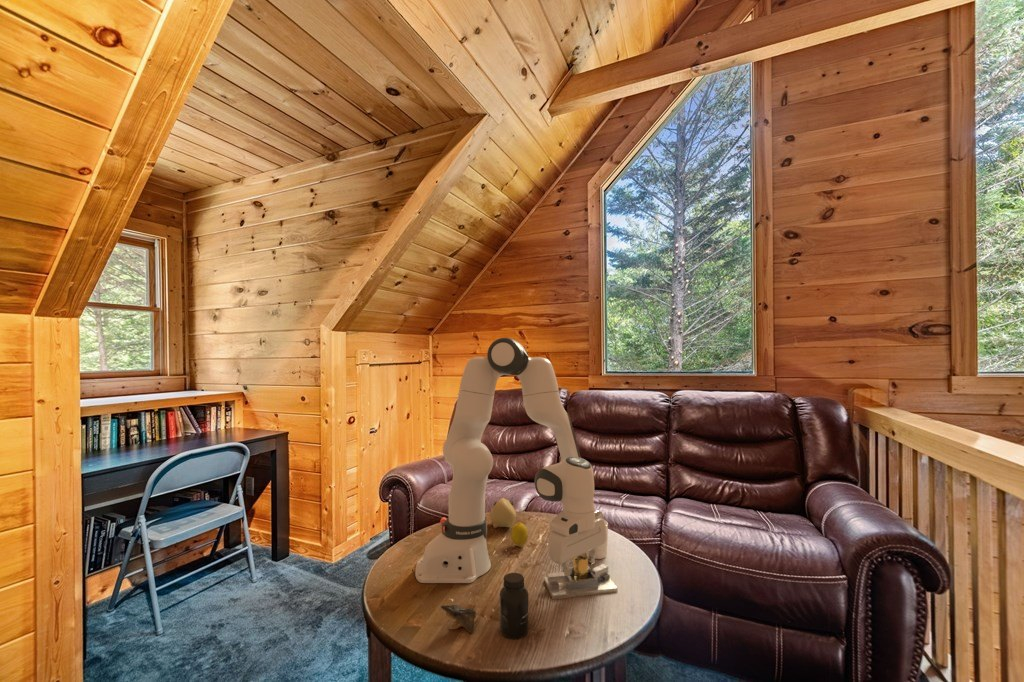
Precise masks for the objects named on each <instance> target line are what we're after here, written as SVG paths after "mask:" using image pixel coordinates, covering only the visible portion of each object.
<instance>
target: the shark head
mask: <svg viewBox="0 0 1024 682" xmlns="http://www.w3.org/2000/svg"><path fill="white" fill-rule="evenodd" d="M440 608H441V609H442V610H443V611H445V614H446V616H447V617H448V618H450V619H452V620H454V621H453V622H451V623H450V624H449V626H448V627H449V630H457V629H459V628H465V630H466V631H468V633H469V634H473V633H474V628H475V619H476V617H477V610H476V609H472V608H471V607H469V608H464V607H462V606H459V605H457V604H450V605H448V604H447V605H440Z"/></svg>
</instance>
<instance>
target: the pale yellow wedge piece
mask: <svg viewBox="0 0 1024 682" xmlns="http://www.w3.org/2000/svg"><path fill="white" fill-rule="evenodd" d="M488 516H489V520H490V521H491V523H492V525H493V528H495V529H496V528H498V527H499V528H512V526H513V523H514V522H515V520H516V518H517V513H516V510H515V507H514V503H513V501H511V500H510V499H506V498H505V497H501V498H499V499H498V500H497V501H495V502H494V503H493V507H492V509H491V510H490V512H489V515H488Z"/></svg>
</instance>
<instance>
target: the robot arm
mask: <svg viewBox="0 0 1024 682" xmlns="http://www.w3.org/2000/svg"><path fill="white" fill-rule="evenodd" d="M509 376H515V377H517V379H518V380H519V382H520V386H521V392H522V401H523V406H524V407H523V408H524V410H525V413H526V414H527V416H528V417H529V418H530V419H531V420H532V421H533V422H535V423H537V424H539V425H542V426H545V427H547V428H548V429H550V430H551V431H552V433H553V434H554V437H555V440H556V443H557V447H558V452H559V454H560V461H559V462H557V463H555V464H550V465H545V466H543V467H541V468H540V469H538V470H537V471H536V473H535V476H534V488H535V491H536V492H537V494H538V495H539V497H540V498H541V499H542V500H544V501H548V502H560V503H561V504H562V510H561V511H560V512H559V513H558V514H557V515H556V516H555V517H554V518H553V519H552V520H550V521H549V529H550V530H551V532H550V534H549V539H548V555H549V556H548V557H549V558H550V560H551V561H552V562H553V563H555V564H558V565H560V566H562V569H563V568H564V575H566V576H570V575H572V568H570V567H571V566H569V564H570V562H571V560H573V558H576V557H578V556H580V555H582V554H584V555H585V554H586V552H588V551H589V554H588V556H587V555H586V556H587V557H588V565H594V564H595V563H596V562H595V561H596V559H595V555H596V553H597V547H598V546H600V545H602V544H604V543H605V541H606V528H605V522H604V520H605V519H604V514H603V513H602V511H600V510H596V507H595V504H594V503H595V502H594V496H595V477H594V470H593V467H592V464H591V463H590V462H589V461H588V460H586V459H584V458H582V456H581V454H580V453H581V452H580V448H579V445H578V442H577V439H576V434H575V430H574V427H573V424H572V420H571V417H570V415H569V413H568V411H566V410H565V407H564V405H563V403H562V399H561V395H560V390H559V389H560V388H559V385H558V380H557V376H556V372H555V370H554V366H553V364H552V362H551V361H550V360H549V359H548V358H546V357H542V356H541V357H540V356H535V357H534V356H533V357H531V356H529V354H528V351H527V349H526V347H524V345H523V344H522V343H521V342H519V341H518V340H516V339H513V338H511V337H500V338H497V339H495V340H494V341H493V342H491V344H490V346H489V347H488V349H487V353H486V356H474V357H471V358H470V359H469V360H467V362H466V364H465V367H464V369H463V373H462V376H461V380H460V383H459V390H458V395H457V401H456V406H455V411H454V416H453V419H452V423H451V424H450V428H449V431H448V434H447V437H446V439H445V441H444V443H443V446H442V454H443V457H444V461H445V462H446V463H447V464H448V466H449V467H451V469H452V481H451V486H450V490H449V492H448V518H446V517H444V516H443V517H441V518H440V525H441V532H440V534H438V535H437V536H436V537H434V538H433V539H432V540H431V541H429V542H428V544H427V545H426V547H425V549H424V552H423V556H422V557H421V558H420V559H419V560H418V561H416V562H417V563H416V565H415V571H414V575H415V578H416V581H417V582H419V583H420V584H471V583H473V582H475V581H476V580H477V578H479V577H481V576H483V575H485V574H486V573H487V572H488V571H489V570H490V569H491V567H492V563H491V559H490V557H489V552H488V547H487V545H488V544H487V537H488V536H487V535H488V522H487V518H486V491H487V490H486V488H487V483H488V478H489V474H490V473H491V472H492V470H493V466H494V457H493V455H492V453H491V451H490V449H489V448H488V446H486V444H485V443H483V442H481V441H482V438H483V434H484V432H485V430H486V427H487V425H488V424H489V422H490V421H491V418H492V412H493V405H494V398H495V393H496V387H497V382H498V380H499V378H502V377H509Z"/></svg>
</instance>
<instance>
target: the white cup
mask: <svg viewBox="0 0 1024 682" xmlns="http://www.w3.org/2000/svg"><path fill="white" fill-rule="evenodd" d="M603 520H604V522H605V528H606V541H605V543H604V544H602V545H600V546H598V547H597V553H596V555H595V560H601V559H602V560H603V559H605V558H606V557H607V556H608V538H609V537H608V533H609V522H608V521H607V520H605V519H603ZM588 554H589V551H588V552H586V553H585V555H586V556H588Z"/></svg>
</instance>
